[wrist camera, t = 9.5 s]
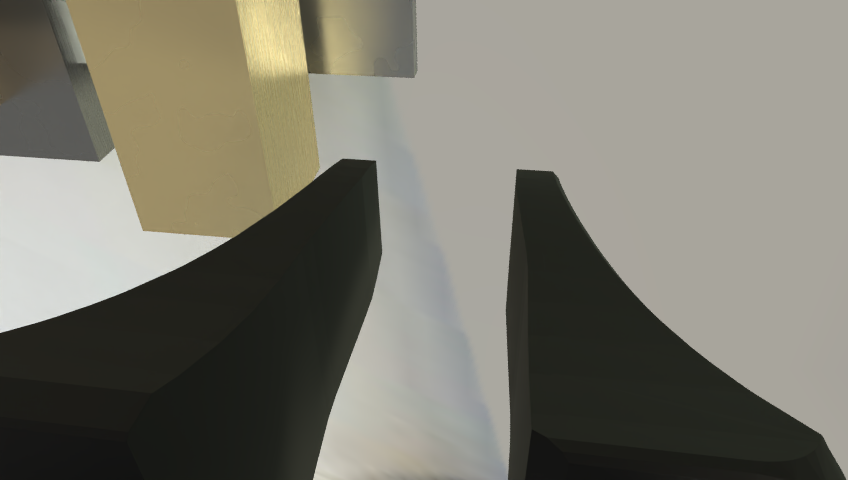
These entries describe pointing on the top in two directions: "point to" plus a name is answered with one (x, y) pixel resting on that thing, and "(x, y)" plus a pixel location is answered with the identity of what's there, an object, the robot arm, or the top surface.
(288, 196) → the block
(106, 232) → the top surface
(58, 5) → the press bed
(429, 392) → the top surface
